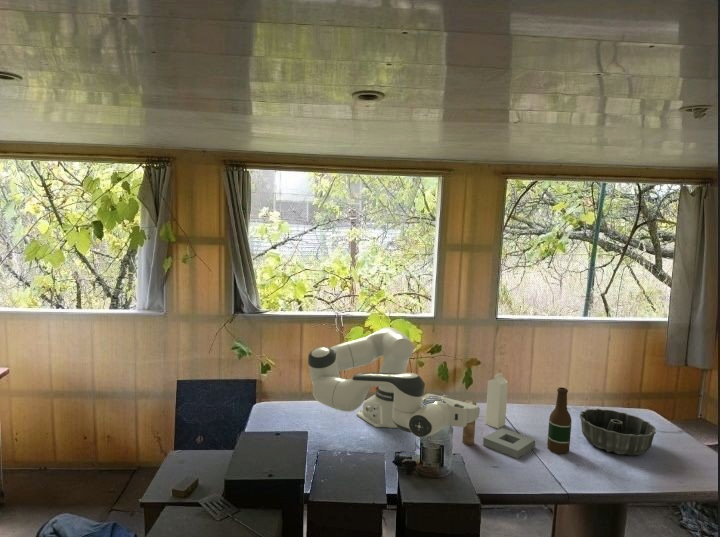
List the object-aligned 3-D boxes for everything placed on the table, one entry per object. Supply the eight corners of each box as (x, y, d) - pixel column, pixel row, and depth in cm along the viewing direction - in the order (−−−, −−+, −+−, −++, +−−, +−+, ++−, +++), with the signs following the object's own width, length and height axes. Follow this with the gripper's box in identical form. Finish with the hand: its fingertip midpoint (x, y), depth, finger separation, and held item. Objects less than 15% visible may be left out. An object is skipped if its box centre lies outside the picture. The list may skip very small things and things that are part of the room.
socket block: (483, 445, 182) (483, 437, 181) (501, 435, 192) (501, 427, 191) (517, 458, 172) (517, 450, 172) (534, 447, 182) (535, 439, 181)
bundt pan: (607, 427, 204) (609, 404, 203) (669, 454, 180) (672, 429, 179) (562, 436, 192) (564, 412, 192) (623, 467, 169) (625, 440, 168)
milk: (505, 425, 202) (509, 374, 200) (497, 428, 198) (501, 377, 196) (492, 420, 206) (496, 370, 204) (484, 424, 202) (488, 373, 200)
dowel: (460, 442, 184) (462, 402, 182) (466, 439, 187) (468, 399, 185) (469, 446, 180) (472, 405, 179) (476, 442, 184) (478, 402, 182)
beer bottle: (559, 456, 175) (564, 393, 173) (542, 447, 182) (547, 386, 180) (573, 452, 178) (578, 390, 176) (556, 444, 185) (561, 384, 183)
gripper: (414, 412, 167) (432, 402, 178) (469, 428, 155) (485, 416, 166) (414, 395, 166) (433, 385, 177) (470, 409, 154) (486, 398, 165)
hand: (458, 400), depth 172 cm, fingers open, 8 cm apart
